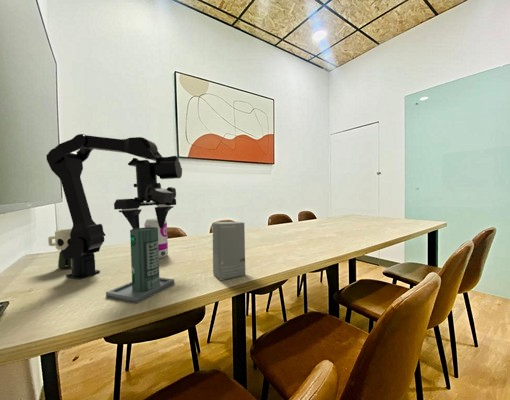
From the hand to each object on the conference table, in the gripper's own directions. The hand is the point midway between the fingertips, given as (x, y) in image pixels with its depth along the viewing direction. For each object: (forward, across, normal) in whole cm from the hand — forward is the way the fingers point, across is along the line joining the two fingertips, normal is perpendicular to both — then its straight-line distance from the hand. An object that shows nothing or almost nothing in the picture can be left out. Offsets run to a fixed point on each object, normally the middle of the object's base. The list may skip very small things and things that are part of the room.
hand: (150, 230), depth 71 cm
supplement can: (+13, +16, +15) cm, 26 cm away
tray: (+13, -11, -8) cm, 19 cm away
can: (+13, -10, -8) cm, 18 cm away
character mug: (+13, -4, +34) cm, 37 cm away
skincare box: (+14, +7, -23) cm, 28 cm away
